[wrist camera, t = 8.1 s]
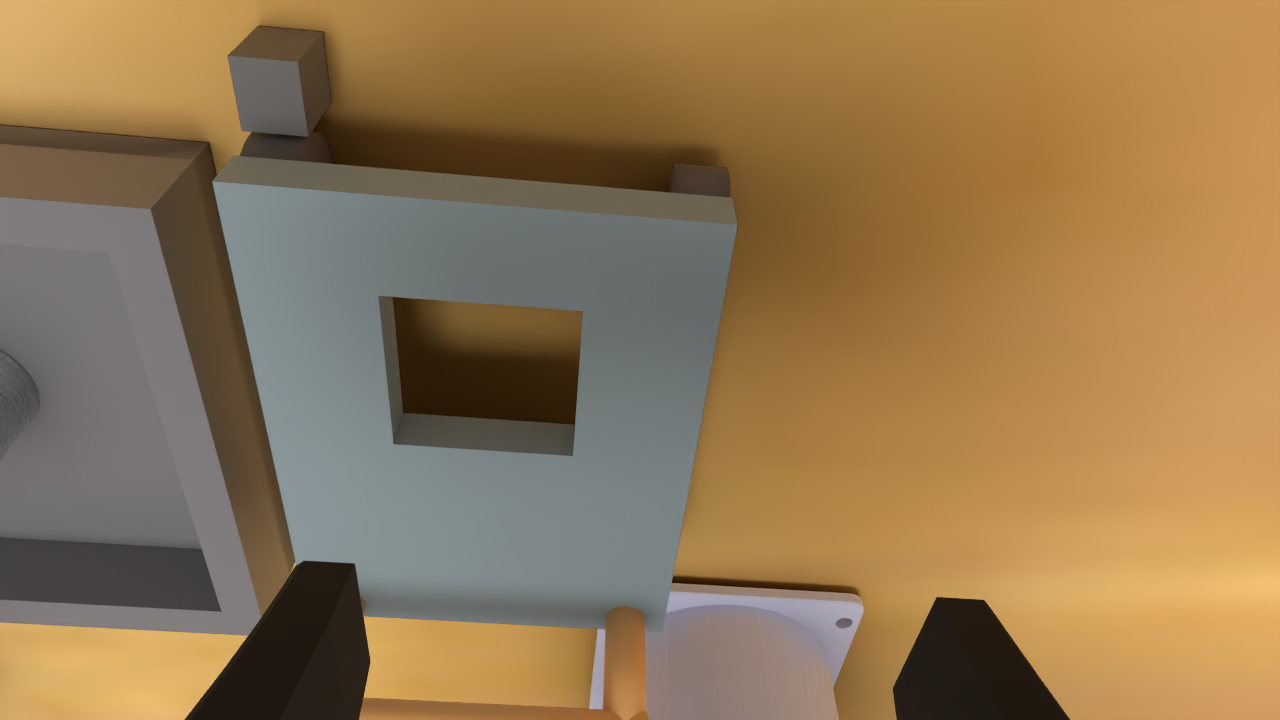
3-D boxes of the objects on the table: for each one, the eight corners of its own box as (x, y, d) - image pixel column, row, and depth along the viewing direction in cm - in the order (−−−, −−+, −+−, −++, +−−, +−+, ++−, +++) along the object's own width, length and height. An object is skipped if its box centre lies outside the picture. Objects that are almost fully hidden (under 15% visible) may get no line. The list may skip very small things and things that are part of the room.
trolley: (659, 531, 26) (666, 768, 20) (338, 511, 25) (255, 749, 20) (734, 70, 17) (779, 261, 12) (258, 25, 17) (75, 204, 11)
